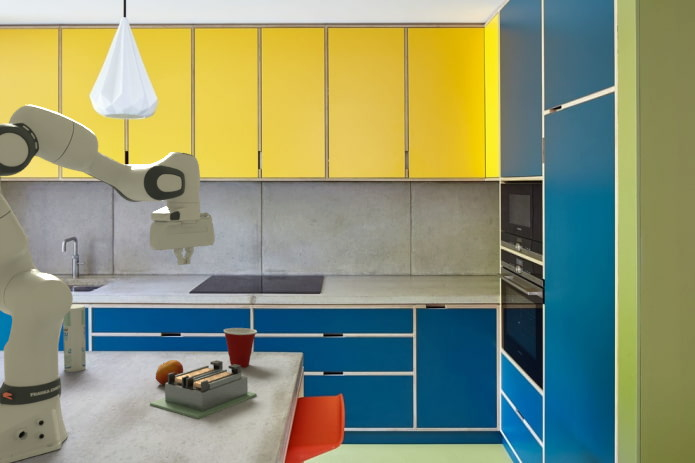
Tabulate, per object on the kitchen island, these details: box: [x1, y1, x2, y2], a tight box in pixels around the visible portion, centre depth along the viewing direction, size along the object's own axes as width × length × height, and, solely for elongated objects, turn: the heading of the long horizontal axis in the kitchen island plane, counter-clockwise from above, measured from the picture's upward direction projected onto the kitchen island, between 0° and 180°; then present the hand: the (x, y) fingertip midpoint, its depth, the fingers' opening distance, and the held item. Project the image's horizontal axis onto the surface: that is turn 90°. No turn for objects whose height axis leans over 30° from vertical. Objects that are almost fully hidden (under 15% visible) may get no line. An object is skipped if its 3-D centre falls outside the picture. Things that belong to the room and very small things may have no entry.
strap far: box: [175, 367, 215, 383], centre depth 177 cm, size 12×3×1 cm, turn 147°
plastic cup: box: [223, 327, 258, 369], centre depth 210 cm, size 11×11×12 cm
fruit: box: [155, 359, 184, 387], centre depth 190 cm, size 8×8×8 cm
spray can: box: [62, 304, 87, 373], centre depth 204 cm, size 6×6×20 cm
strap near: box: [193, 371, 233, 388], centre depth 173 cm, size 12×3×1 cm, turn 147°
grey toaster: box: [164, 359, 249, 412], centre depth 176 cm, size 17×14×8 cm
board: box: [149, 391, 257, 420], centre depth 176 cm, size 22×18×1 cm
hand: (184, 264), depth 175 cm, fingers closed
